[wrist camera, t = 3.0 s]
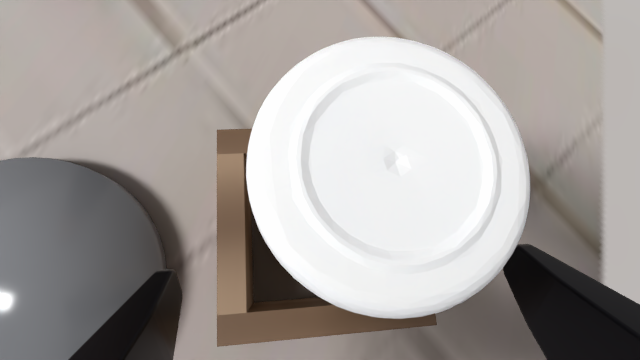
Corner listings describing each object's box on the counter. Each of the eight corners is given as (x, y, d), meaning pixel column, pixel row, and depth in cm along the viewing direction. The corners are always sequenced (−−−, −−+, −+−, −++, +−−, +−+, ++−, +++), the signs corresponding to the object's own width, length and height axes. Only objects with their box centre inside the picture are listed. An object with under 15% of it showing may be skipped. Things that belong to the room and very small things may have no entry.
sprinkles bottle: (288, 178, 18) (292, -10, 5) (366, 200, 18) (557, 69, 5) (264, 260, 17) (193, 275, 4) (347, 282, 17) (530, 365, 4)
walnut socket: (411, 313, 17) (436, 324, 14) (229, 330, 16) (217, 346, 13) (391, 144, 19) (409, 124, 16) (228, 149, 18) (216, 129, 15)
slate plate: (79, 495, 14) (64, 512, 13) (-203, 386, 14) (-238, 395, 13) (210, 217, 17) (206, 215, 16) (-19, 126, 17) (-37, 118, 16)
